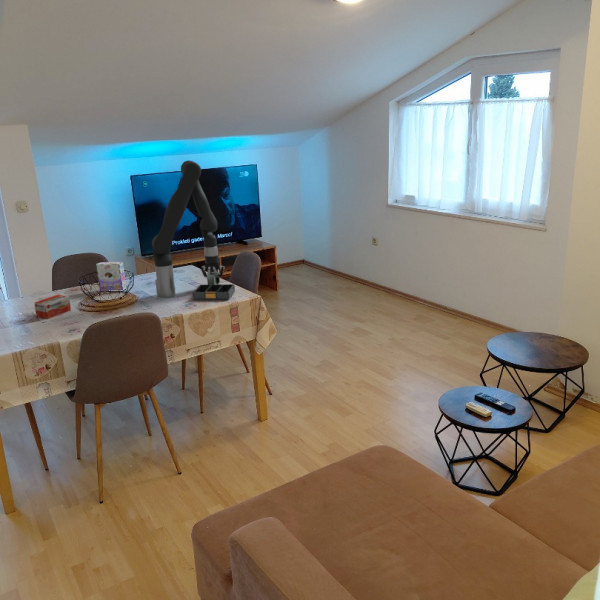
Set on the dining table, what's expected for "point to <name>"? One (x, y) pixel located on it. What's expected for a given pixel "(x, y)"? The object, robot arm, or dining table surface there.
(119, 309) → the dining table surface
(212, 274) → the grey-green rectangular block
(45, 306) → the medicine box
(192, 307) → the dining table surface
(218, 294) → the rack
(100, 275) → the candy box
